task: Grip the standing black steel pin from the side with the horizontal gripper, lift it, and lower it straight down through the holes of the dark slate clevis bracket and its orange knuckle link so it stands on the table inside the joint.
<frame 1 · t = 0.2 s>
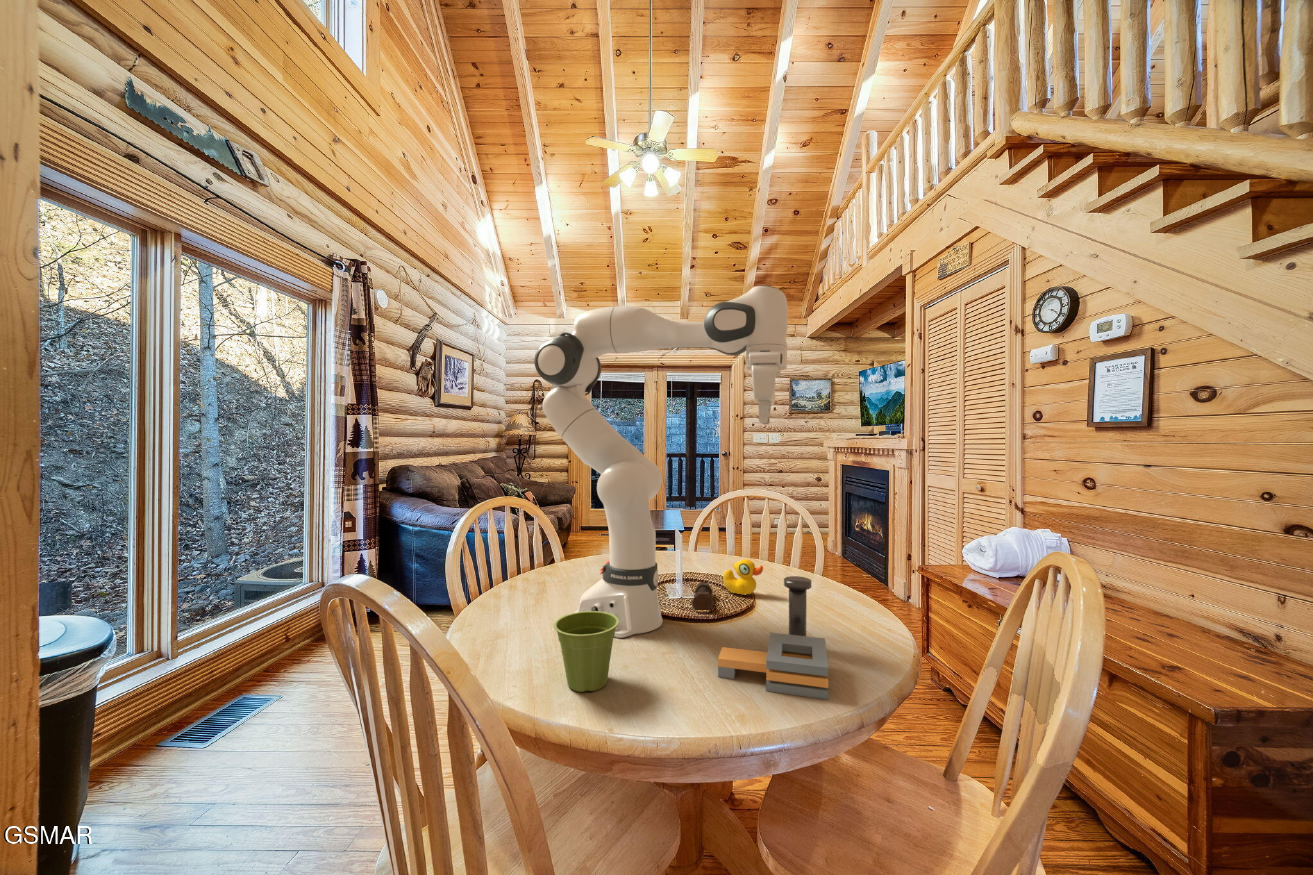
hand: (764, 423, 110), 47 cm above the table, tool pointing down, fingers open, 8 cm apart
pin: (797, 646, 106), on the table
bolt: (703, 604, 133), on the table
clevis bracket: (797, 680, 92), on the table
duckling: (742, 595, 139), on the table
plant pot: (587, 683, 92), on the table
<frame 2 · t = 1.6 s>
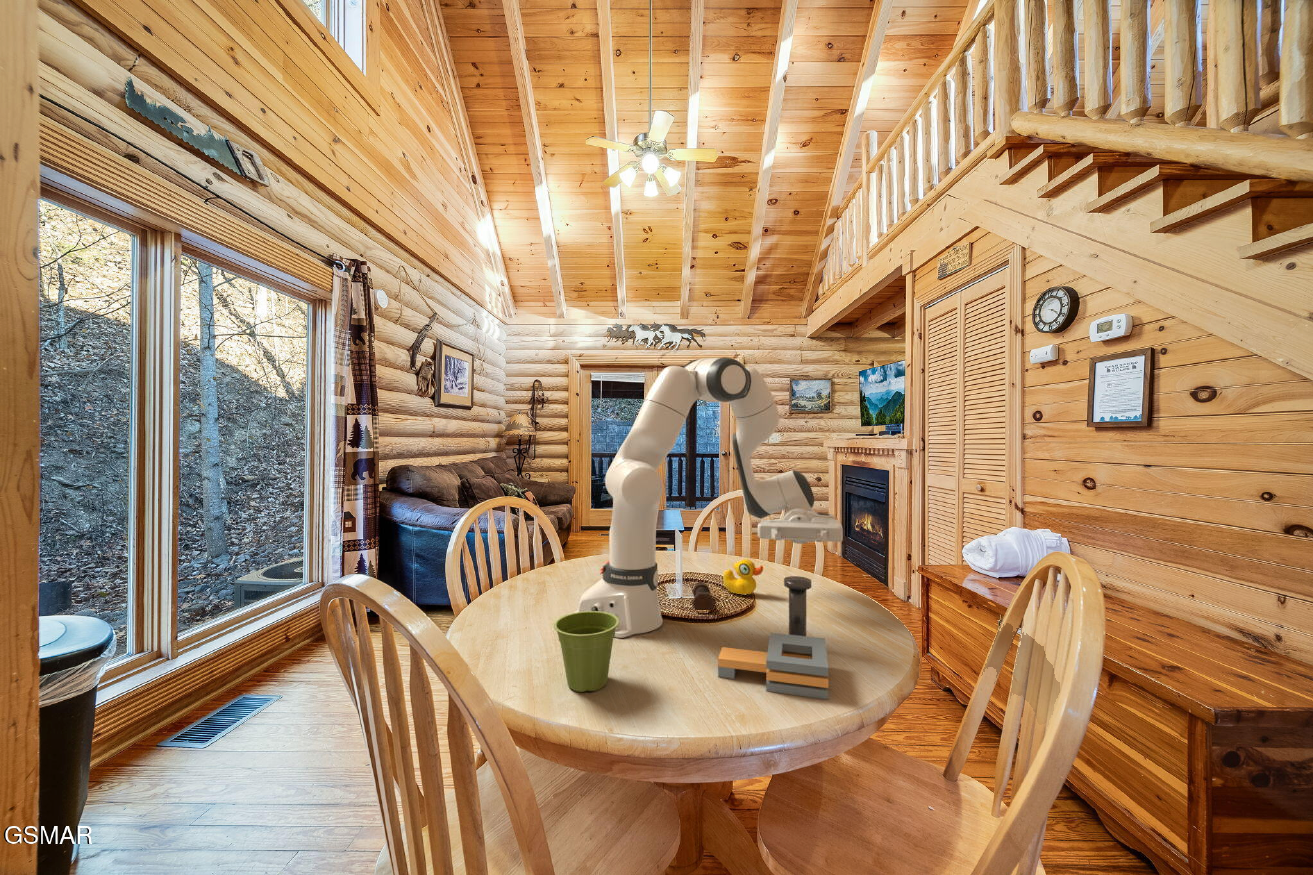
hand: (798, 537, 117), 21 cm above the table, tool horizontal, fingers open, 8 cm apart
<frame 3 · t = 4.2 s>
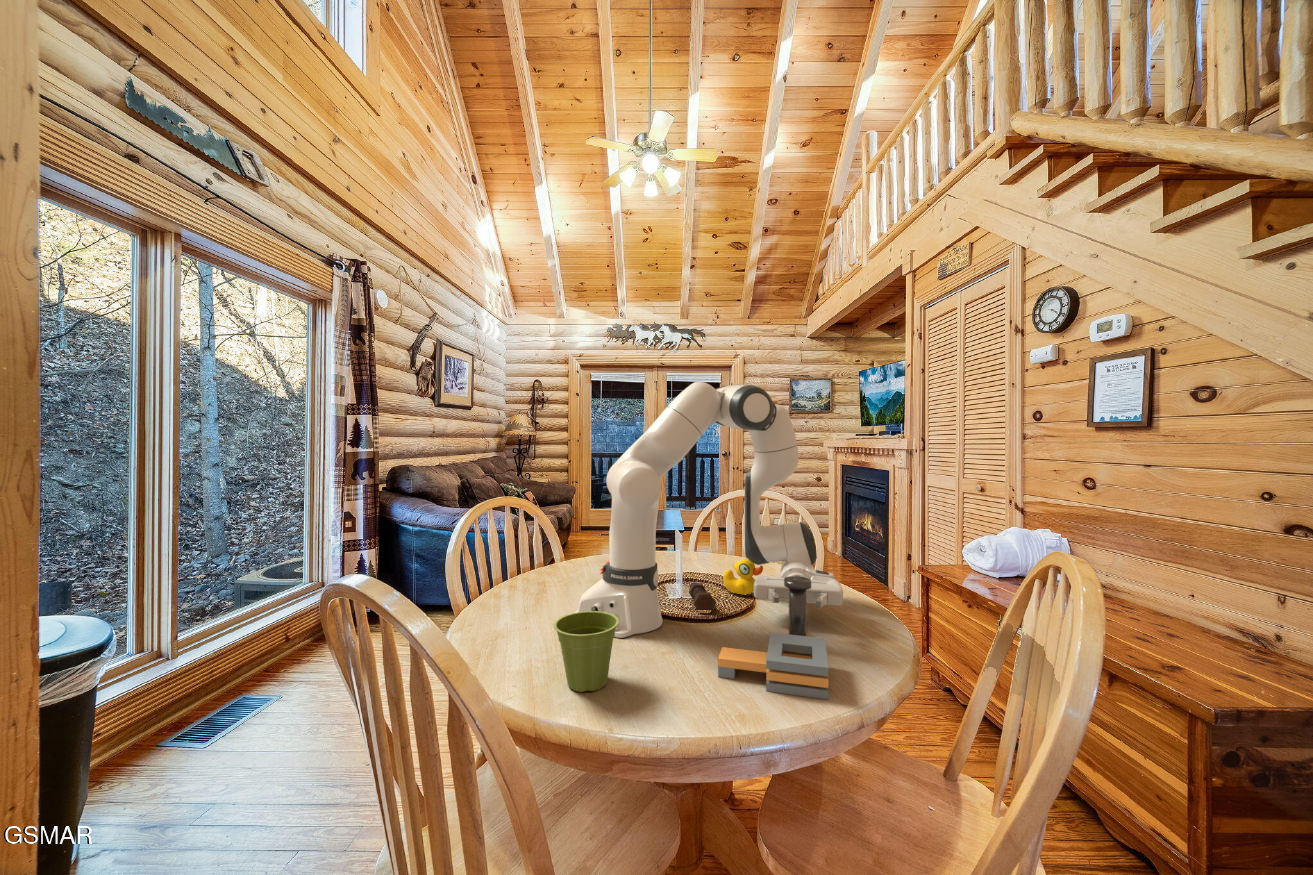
hand: (797, 601, 111), 8 cm above the table, tool horizontal, fingers open, 8 cm apart
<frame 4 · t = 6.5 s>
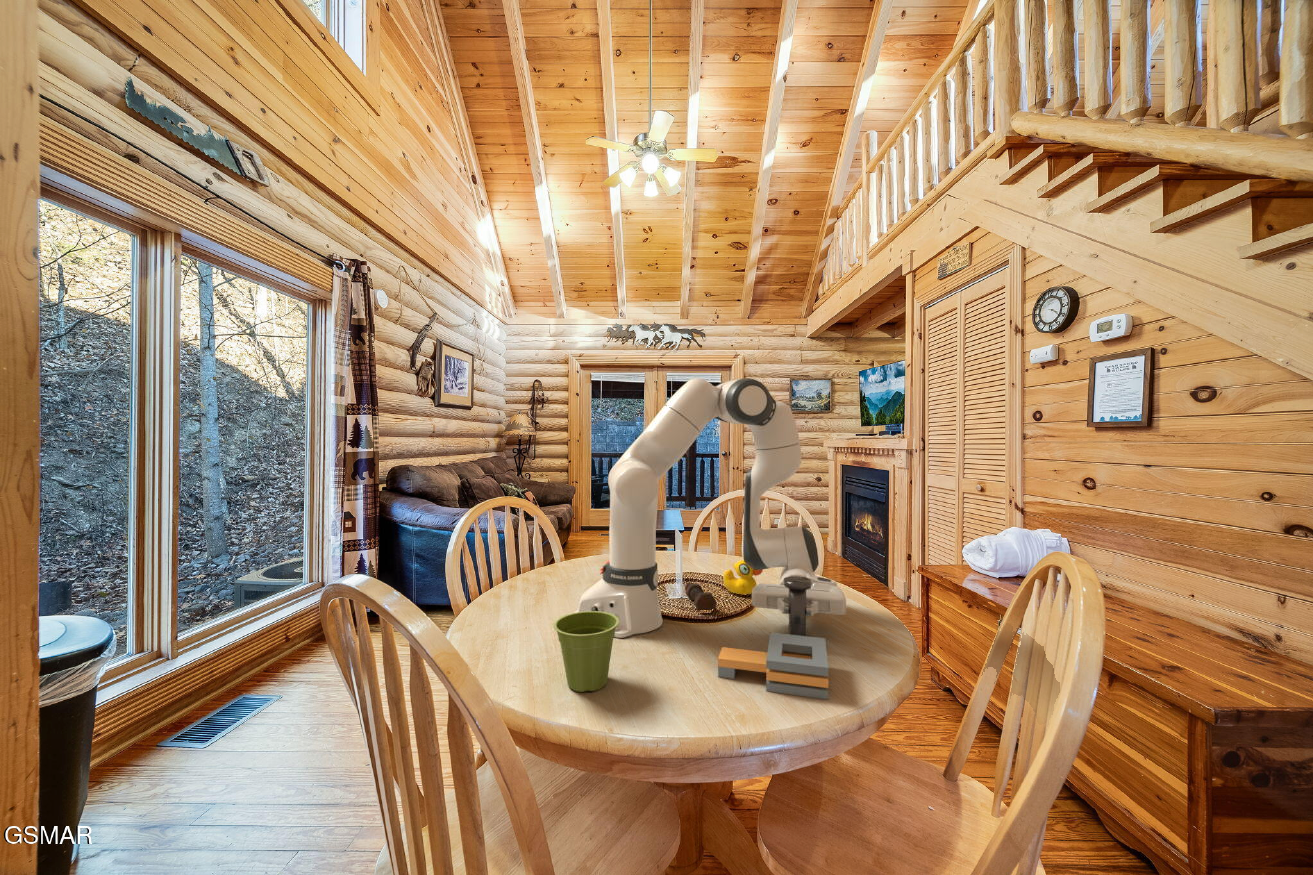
hand: (797, 611, 105), 8 cm above the table, tool horizontal, fingers closed on pin, 4 cm apart
pin: (797, 646, 106), on the table, touching gripper
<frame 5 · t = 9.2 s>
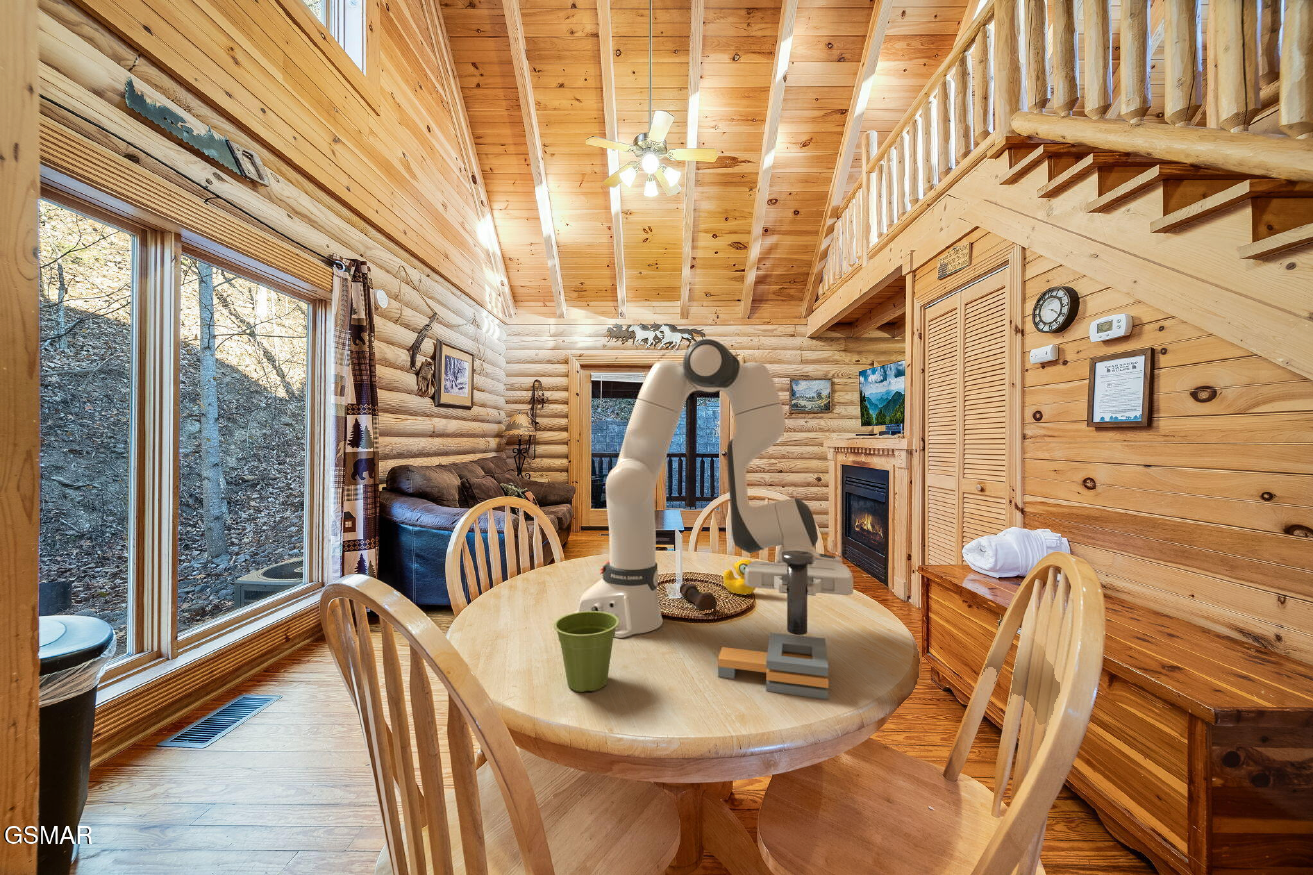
hand: (797, 590, 91), 17 cm above the table, tool horizontal, fingers closed on pin, 4 cm apart
pin: (797, 630, 92), point 9 cm above the table, touching gripper
when the fingers open (10 cm above the table, at t = 11.8 s): pin drops 2 cm, resting in clevis bracket.
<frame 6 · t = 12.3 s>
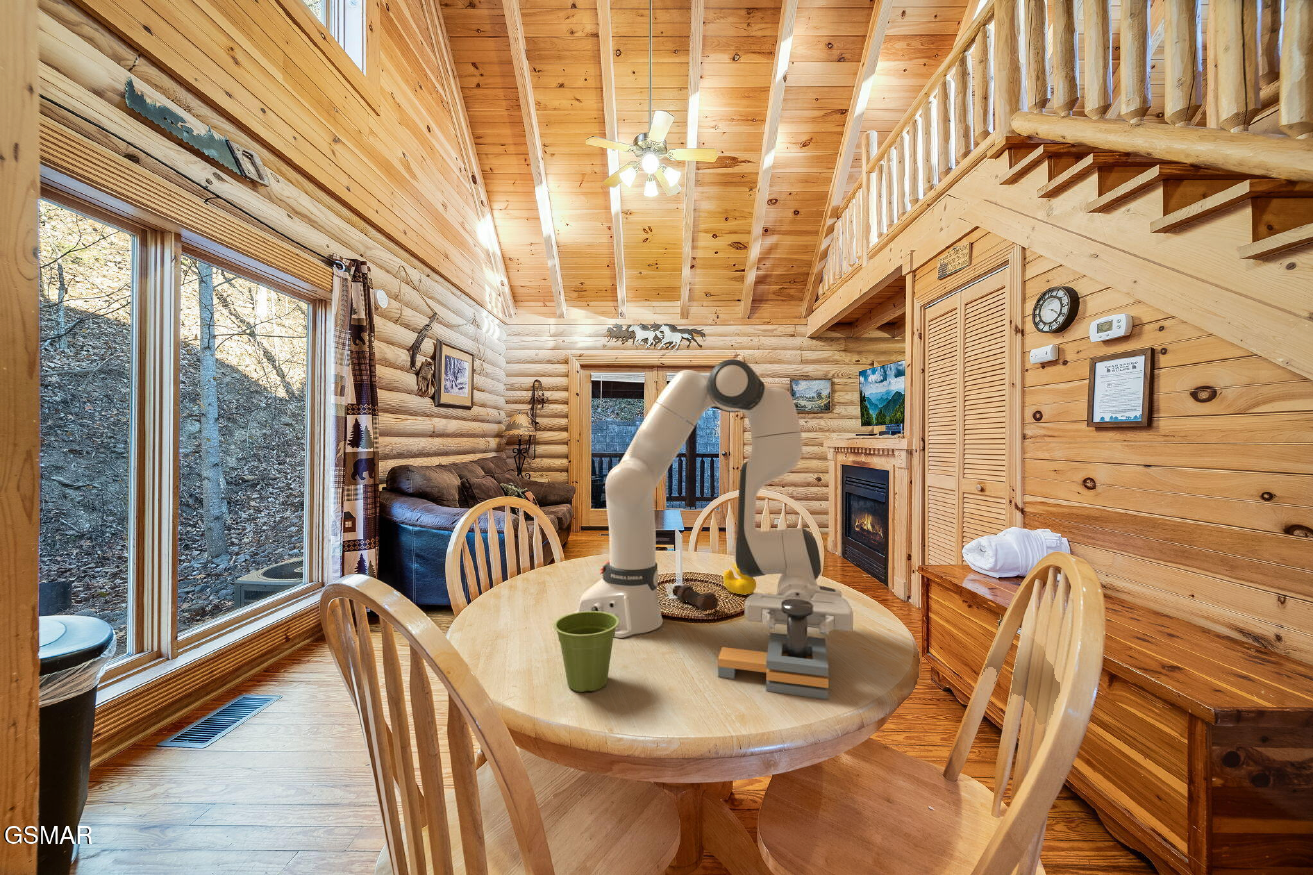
hand: (797, 627, 91), 10 cm above the table, tool horizontal, fingers open, 8 cm apart
pin: (797, 680, 92), resting in clevis bracket
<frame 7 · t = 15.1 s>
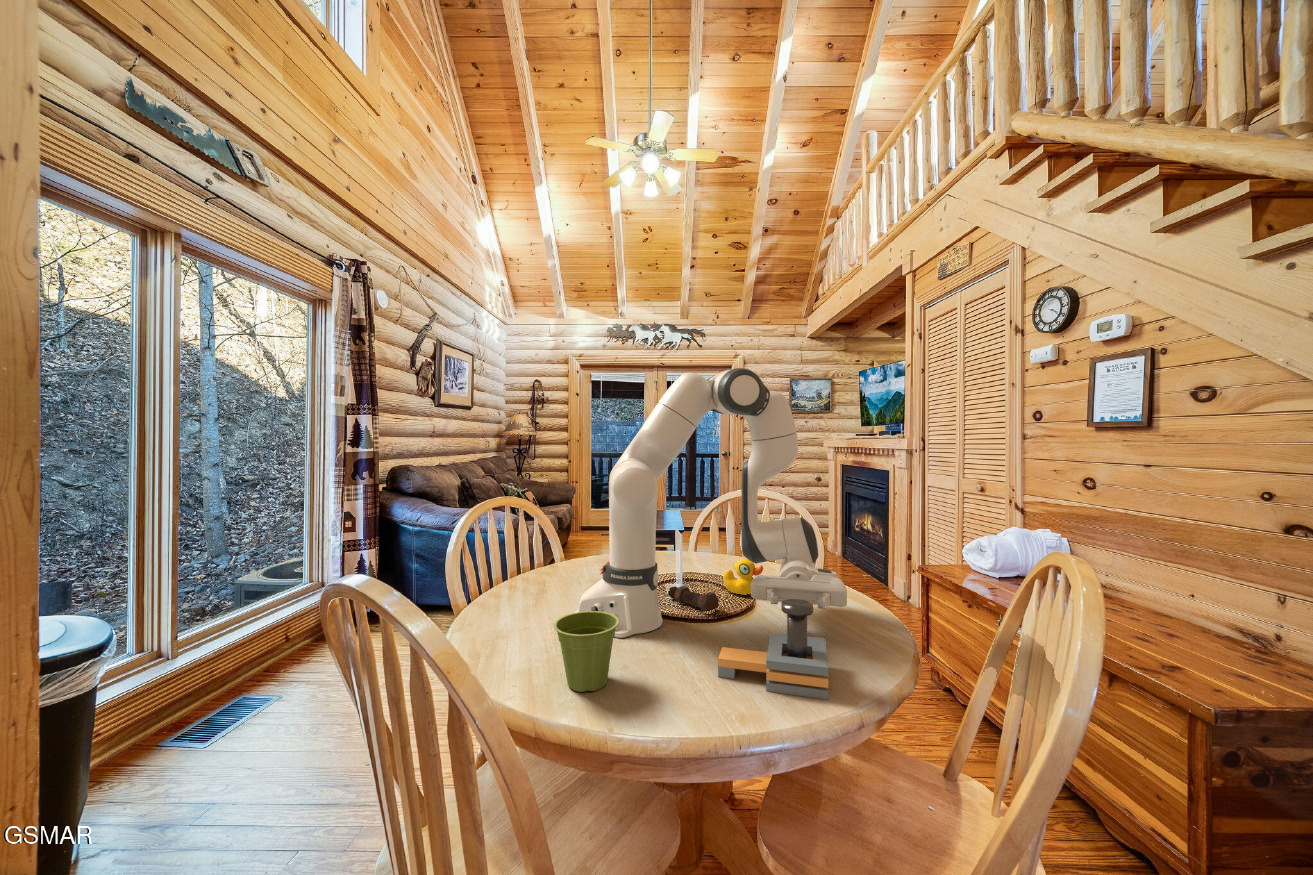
hand: (797, 602, 103), 10 cm above the table, tool horizontal, fingers open, 8 cm apart
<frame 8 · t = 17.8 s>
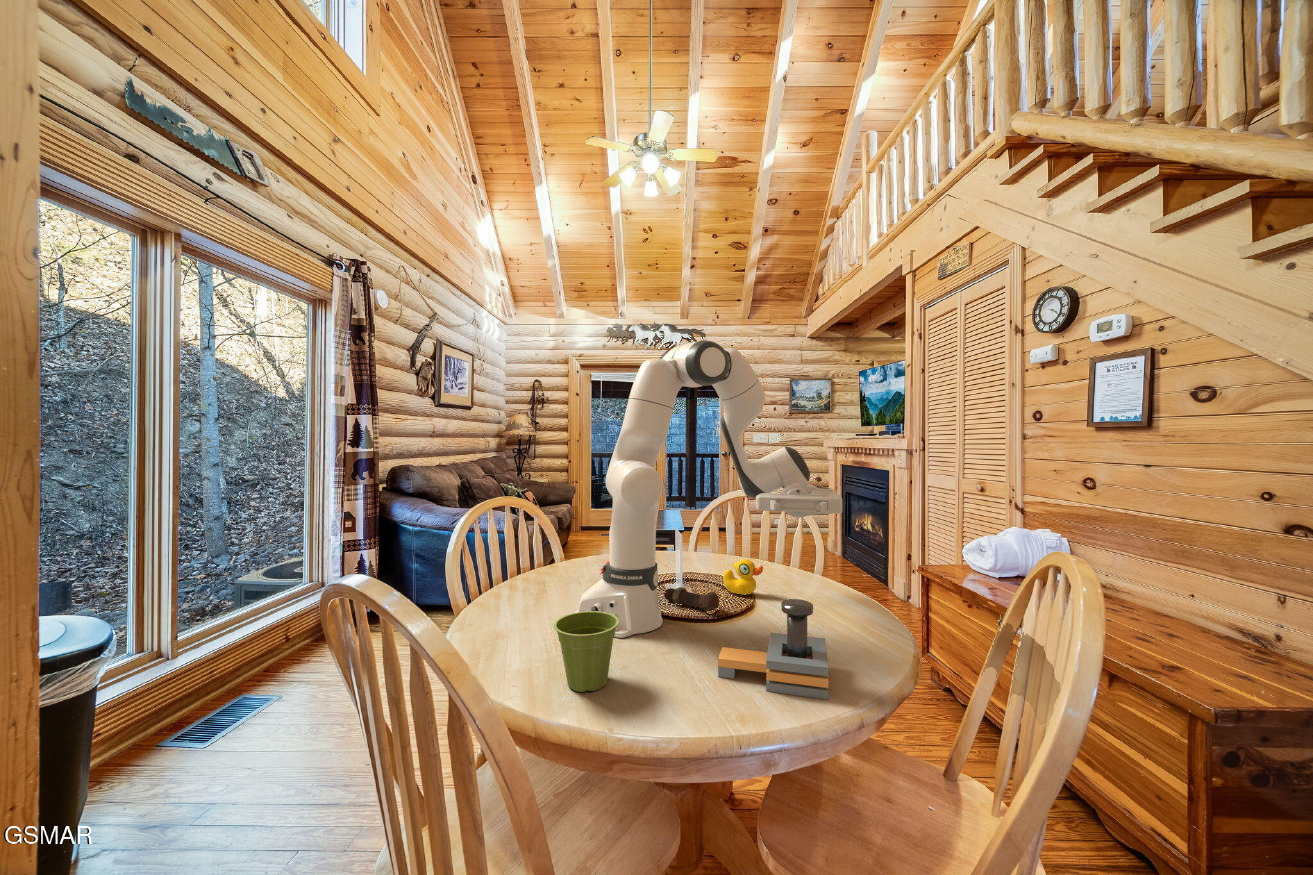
hand: (798, 507, 115), 28 cm above the table, tool horizontal, fingers open, 8 cm apart
at the end: pin 0.0 cm off-centre on the clevis bracket, point 0.0 cm above the clevis bracket's base; pin tilted 0°; the gripper is holding nothing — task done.
